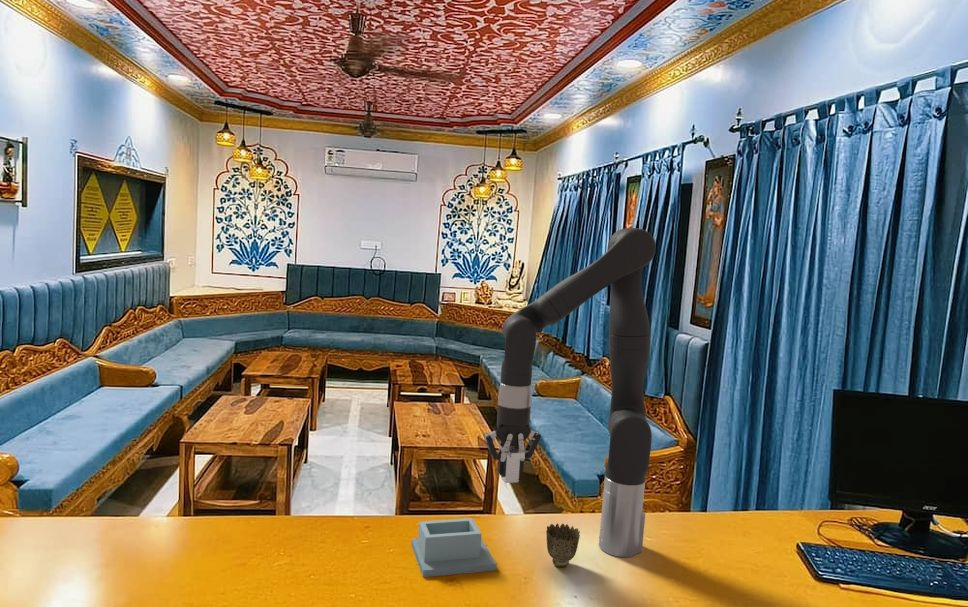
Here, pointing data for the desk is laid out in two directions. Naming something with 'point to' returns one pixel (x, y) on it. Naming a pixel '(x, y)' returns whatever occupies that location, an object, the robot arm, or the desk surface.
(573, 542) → the cup
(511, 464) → the grey painted wood block
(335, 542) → the desk surface
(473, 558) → the well board
